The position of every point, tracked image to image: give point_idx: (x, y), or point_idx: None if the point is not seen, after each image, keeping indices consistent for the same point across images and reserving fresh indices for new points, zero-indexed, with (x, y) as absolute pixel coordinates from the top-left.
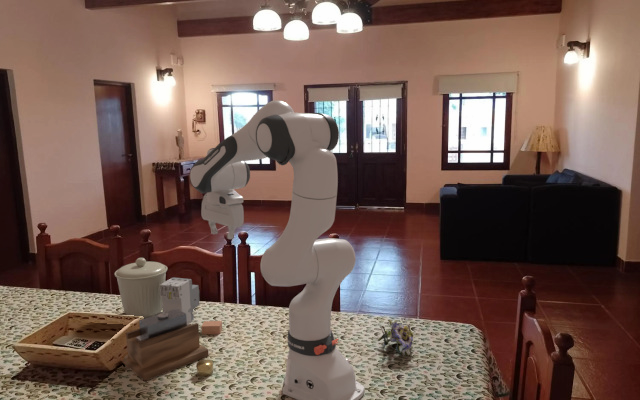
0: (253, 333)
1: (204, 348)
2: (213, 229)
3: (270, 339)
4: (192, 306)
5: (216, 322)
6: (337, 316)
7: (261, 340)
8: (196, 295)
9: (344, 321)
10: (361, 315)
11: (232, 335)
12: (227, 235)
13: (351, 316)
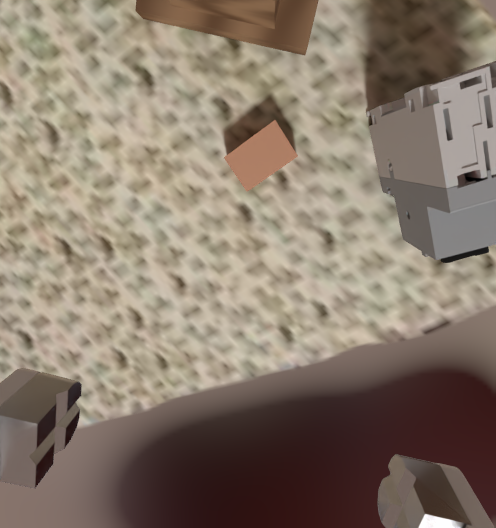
0: (146, 214)
1: (151, 8)
2: (429, 521)
3: (80, 210)
4: (397, 192)
5: (253, 172)
6: None
7: (95, 191)
8: (416, 230)
9: None
10: None
11: (187, 170)
12: (34, 400)
13: None
